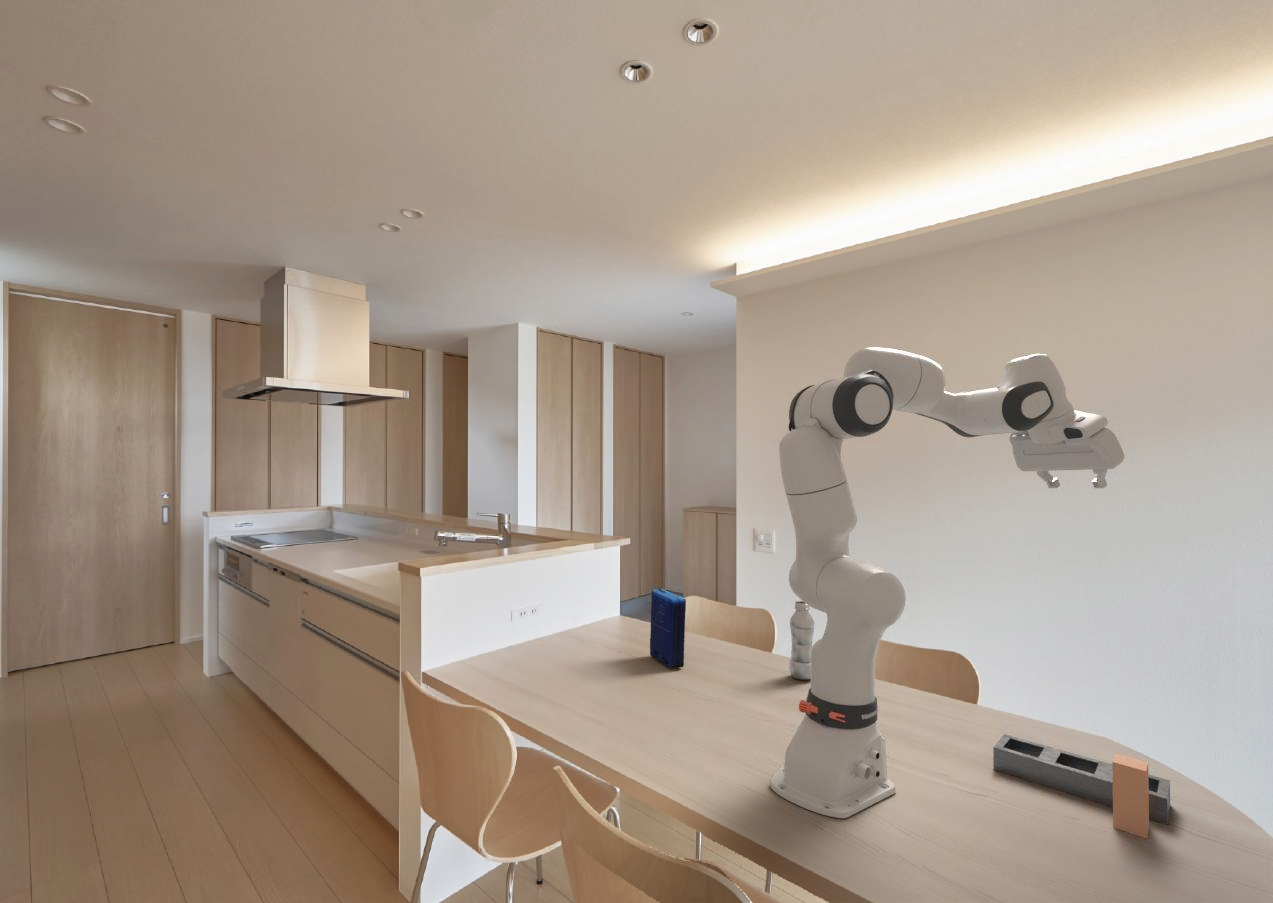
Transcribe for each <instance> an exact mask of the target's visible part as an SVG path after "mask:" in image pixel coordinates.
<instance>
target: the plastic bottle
mask: <svg viewBox="0 0 1273 903" xmlns="http://www.w3.org/2000/svg"><path fill="white" fill-rule="evenodd" d="M794 609H795V611H794V613H793V614H792V616H791V617H790V620H789V625H790V626H789V627H790V634H791V651H790V654H791V655H790V660H789V667H788V668H789V673H790V675H791V677H793V678H794V679H797V680H802V681H803V680H804V681H805V680H808V681H809V680H811V649H812V647H813V637H814V630H815V620H814V619H813V616H812V615H811V613H810V612H809V611H810V606H808V605H807V604H806V603H805V602H803V601H802V600H797V601H795V602H794Z"/></svg>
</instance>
